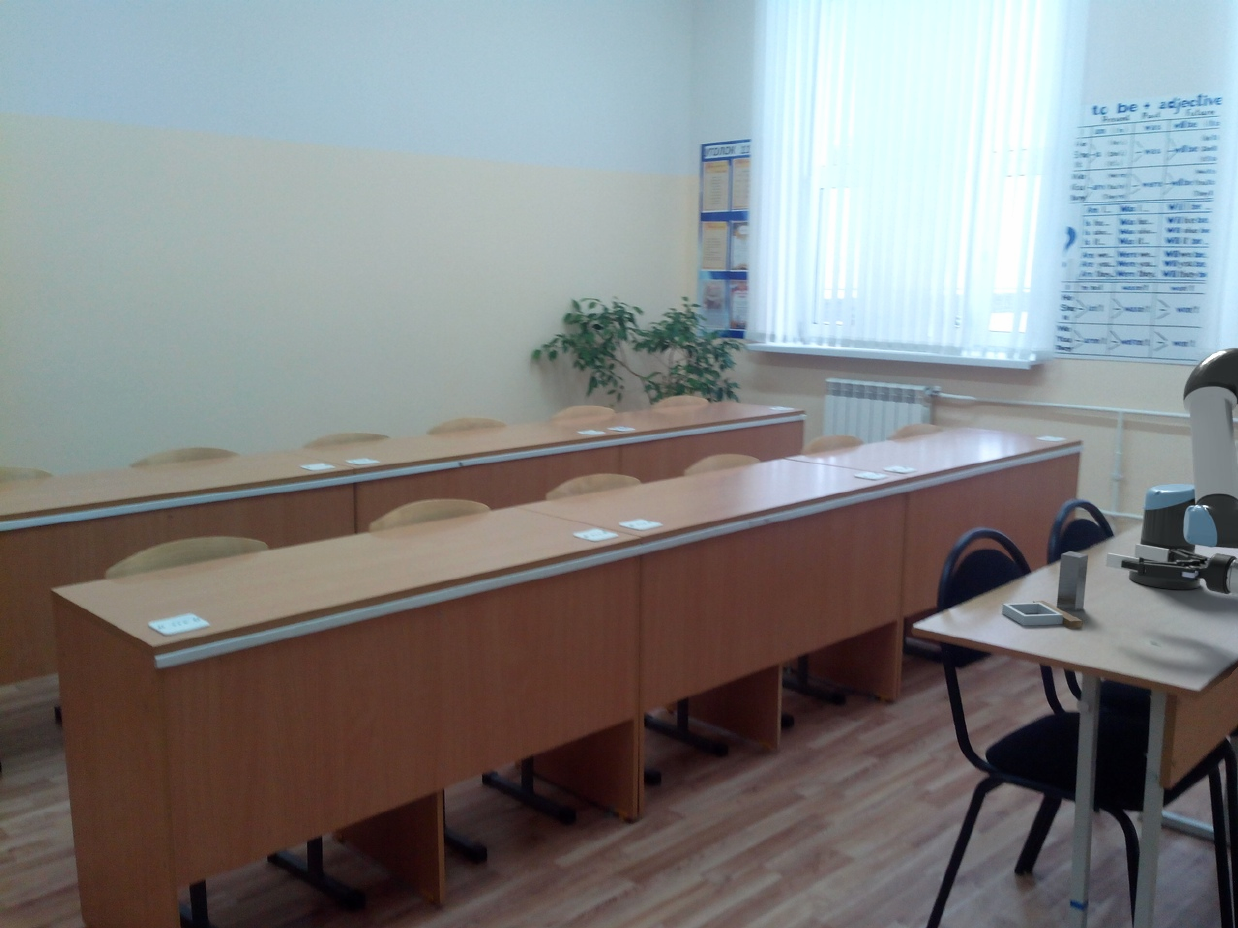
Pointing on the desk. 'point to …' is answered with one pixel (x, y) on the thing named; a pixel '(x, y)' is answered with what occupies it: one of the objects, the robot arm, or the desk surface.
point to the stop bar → (1072, 581)
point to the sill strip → (1064, 616)
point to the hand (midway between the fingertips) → (1121, 554)
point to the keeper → (1043, 618)
